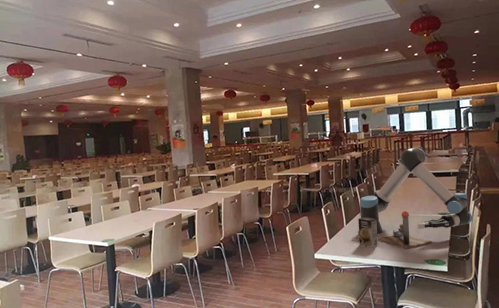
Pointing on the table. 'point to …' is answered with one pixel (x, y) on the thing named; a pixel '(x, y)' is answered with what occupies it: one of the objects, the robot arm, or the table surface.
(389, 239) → the cracker base
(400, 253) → the table surface
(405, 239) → the lever
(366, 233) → the coffee box
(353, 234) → the table surface
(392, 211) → the table surface
